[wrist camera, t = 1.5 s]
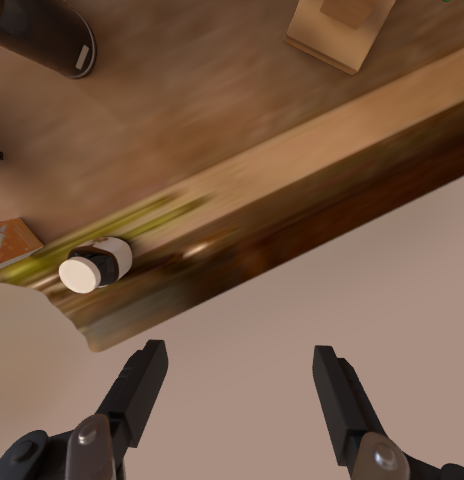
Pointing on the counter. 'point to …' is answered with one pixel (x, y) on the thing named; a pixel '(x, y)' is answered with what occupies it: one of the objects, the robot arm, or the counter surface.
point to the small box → (16, 241)
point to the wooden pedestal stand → (338, 30)
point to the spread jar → (96, 264)
